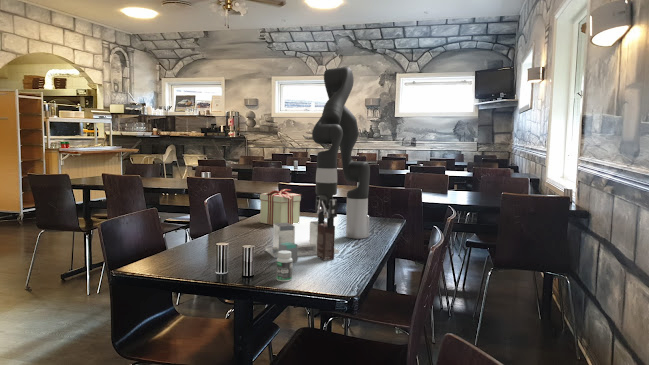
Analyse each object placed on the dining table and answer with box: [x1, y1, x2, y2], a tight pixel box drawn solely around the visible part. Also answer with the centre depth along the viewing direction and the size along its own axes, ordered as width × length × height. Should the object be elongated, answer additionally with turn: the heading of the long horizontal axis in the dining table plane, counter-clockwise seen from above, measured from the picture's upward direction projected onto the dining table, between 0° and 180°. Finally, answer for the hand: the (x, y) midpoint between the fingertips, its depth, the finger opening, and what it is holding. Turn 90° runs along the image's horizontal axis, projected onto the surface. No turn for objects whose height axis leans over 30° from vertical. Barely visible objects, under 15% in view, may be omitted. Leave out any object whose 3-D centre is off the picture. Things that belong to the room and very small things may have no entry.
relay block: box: [279, 242, 298, 263], centre depth 165 cm, size 5×4×6 cm
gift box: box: [259, 188, 302, 226], centre depth 243 cm, size 17×18×17 cm
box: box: [316, 224, 336, 261], centre depth 170 cm, size 6×4×12 cm
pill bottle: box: [275, 250, 293, 283], centre depth 143 cm, size 5×5×8 cm
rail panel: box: [265, 220, 340, 259], centre depth 179 cm, size 25×12×11 cm, turn 112°
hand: (325, 226), depth 170 cm, fingers open, 8 cm apart
